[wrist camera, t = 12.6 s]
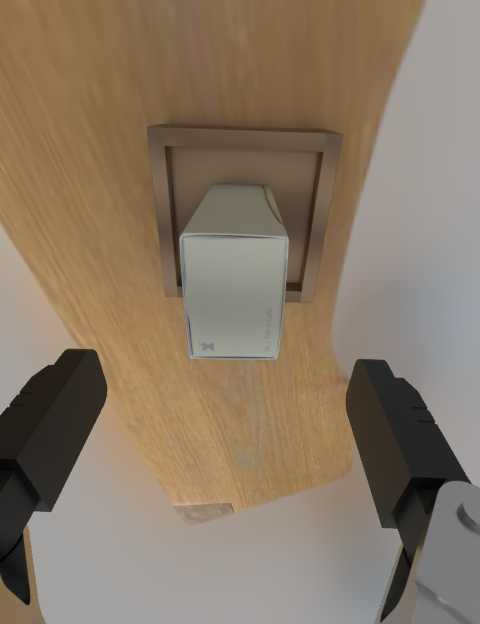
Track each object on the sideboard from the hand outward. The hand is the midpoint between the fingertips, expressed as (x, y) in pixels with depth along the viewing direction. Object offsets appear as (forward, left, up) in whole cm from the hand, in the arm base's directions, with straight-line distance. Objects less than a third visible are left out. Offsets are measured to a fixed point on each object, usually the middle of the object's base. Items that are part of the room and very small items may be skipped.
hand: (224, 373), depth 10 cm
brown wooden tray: (0, 0, -20) cm, 20 cm away
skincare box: (0, 0, -16) cm, 16 cm away
